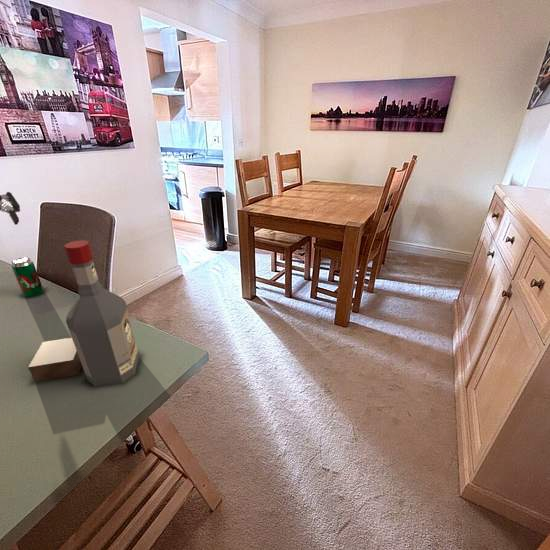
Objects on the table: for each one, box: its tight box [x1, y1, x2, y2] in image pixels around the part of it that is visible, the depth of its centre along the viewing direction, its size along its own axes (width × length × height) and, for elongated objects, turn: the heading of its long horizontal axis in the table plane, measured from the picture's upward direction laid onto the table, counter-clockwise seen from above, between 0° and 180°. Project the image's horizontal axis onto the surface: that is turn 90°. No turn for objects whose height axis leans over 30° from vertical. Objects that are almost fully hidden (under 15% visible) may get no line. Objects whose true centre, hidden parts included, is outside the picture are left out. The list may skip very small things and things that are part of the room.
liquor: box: [64, 239, 140, 387], centre depth 59 cm, size 9×9×30 cm
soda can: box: [10, 256, 45, 298], centre depth 90 cm, size 5×5×12 cm
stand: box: [27, 337, 83, 383], centre depth 66 cm, size 8×8×5 cm
